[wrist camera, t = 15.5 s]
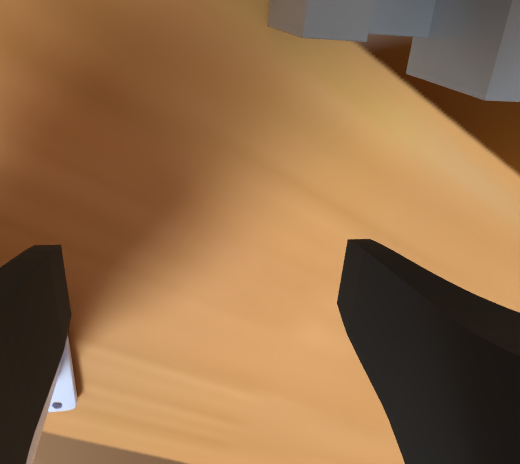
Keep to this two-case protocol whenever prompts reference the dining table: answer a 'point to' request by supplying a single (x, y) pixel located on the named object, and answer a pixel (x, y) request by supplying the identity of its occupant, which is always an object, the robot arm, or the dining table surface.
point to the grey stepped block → (424, 37)
